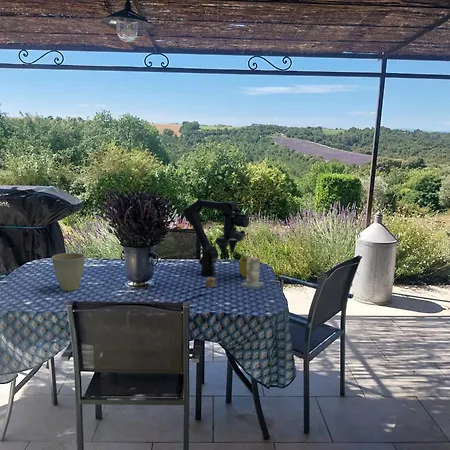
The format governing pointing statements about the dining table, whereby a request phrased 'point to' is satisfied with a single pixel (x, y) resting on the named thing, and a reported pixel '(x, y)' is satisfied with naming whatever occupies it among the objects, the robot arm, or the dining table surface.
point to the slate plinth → (252, 285)
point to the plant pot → (69, 269)
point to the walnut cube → (210, 282)
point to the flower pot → (243, 267)
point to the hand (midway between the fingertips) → (228, 254)
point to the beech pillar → (252, 270)
